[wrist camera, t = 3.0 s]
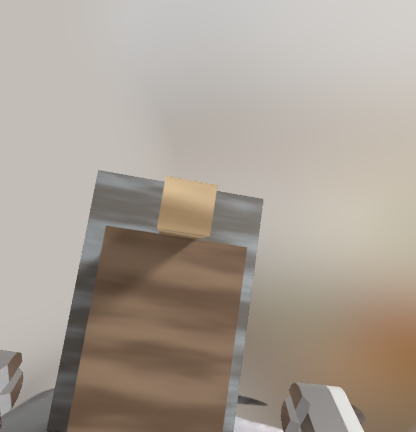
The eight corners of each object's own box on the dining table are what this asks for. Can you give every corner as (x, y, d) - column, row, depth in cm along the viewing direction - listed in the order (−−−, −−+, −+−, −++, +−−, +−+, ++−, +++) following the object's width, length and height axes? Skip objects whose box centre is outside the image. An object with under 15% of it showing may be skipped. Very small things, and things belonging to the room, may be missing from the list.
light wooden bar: (215, 237, 17) (224, 175, 17) (151, 227, 16) (162, 164, 17) (192, 241, 33) (197, 209, 33) (159, 236, 32) (165, 203, 33)
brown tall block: (276, 587, 23) (321, 170, 27) (-53, 580, 21) (50, 118, 25) (228, 435, 42) (259, 201, 46) (52, 421, 39) (101, 173, 43)
